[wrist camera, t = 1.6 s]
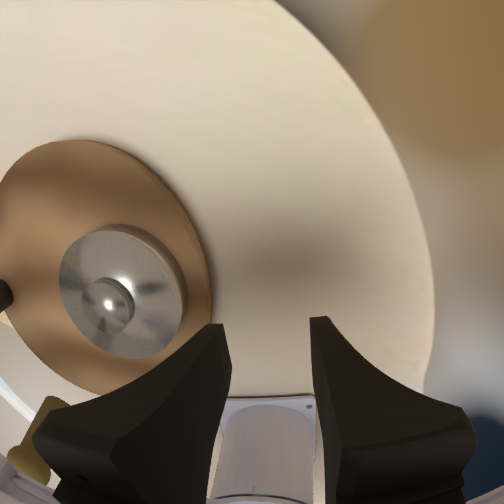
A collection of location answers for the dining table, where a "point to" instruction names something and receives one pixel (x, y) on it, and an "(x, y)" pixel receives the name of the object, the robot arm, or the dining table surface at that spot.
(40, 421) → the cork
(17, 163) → the turntable
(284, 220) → the dining table surface
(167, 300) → the cover
